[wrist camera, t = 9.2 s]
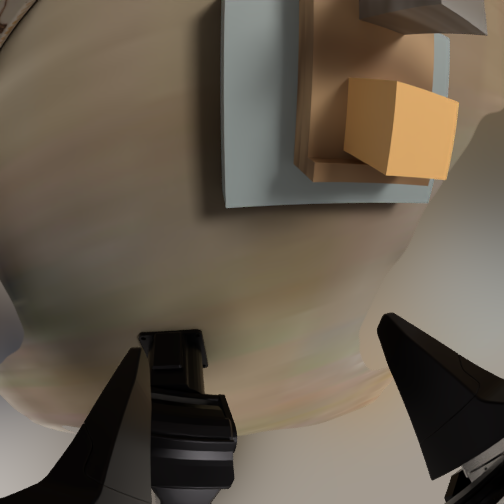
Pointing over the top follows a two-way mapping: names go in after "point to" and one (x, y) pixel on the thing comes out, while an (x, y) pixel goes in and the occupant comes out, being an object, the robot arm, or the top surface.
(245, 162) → the pale grey flat slab
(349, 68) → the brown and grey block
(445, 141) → the orange cube
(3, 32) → the decorative jar
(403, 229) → the top surface
